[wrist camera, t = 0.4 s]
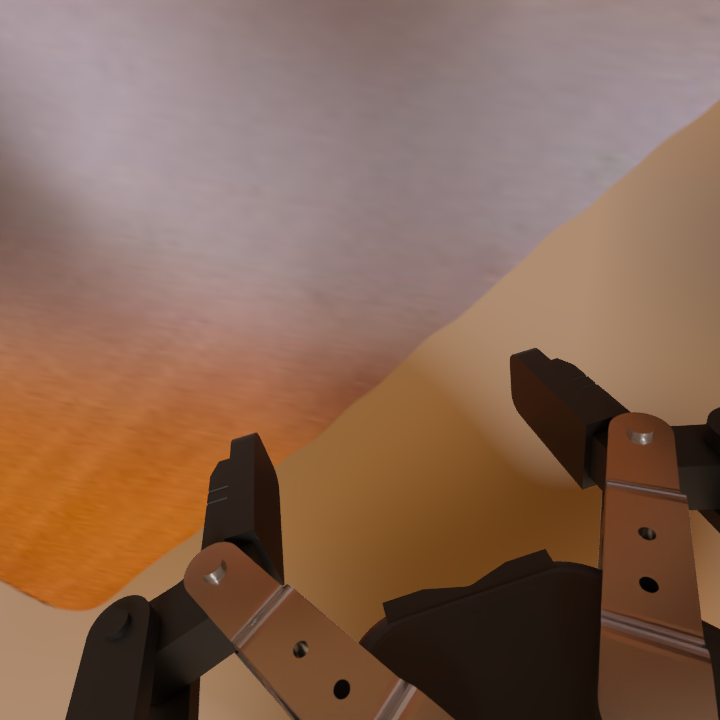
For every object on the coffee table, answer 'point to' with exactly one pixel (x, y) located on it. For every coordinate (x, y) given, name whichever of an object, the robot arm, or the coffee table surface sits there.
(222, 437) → the coffee table surface
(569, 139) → the coffee table surface
